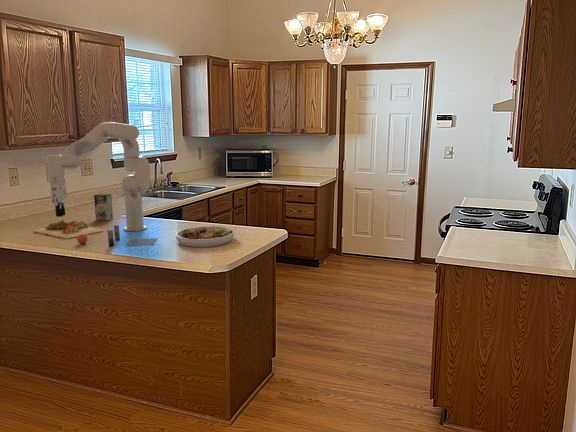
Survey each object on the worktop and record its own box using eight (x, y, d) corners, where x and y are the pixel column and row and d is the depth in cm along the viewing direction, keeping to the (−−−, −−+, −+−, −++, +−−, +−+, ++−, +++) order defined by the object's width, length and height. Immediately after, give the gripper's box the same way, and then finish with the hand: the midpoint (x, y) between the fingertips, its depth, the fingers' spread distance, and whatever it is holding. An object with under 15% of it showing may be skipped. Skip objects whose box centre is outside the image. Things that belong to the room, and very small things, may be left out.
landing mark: (131, 239, 264) (131, 238, 264) (157, 238, 266) (157, 238, 265) (125, 245, 251) (125, 245, 251) (153, 245, 252) (153, 244, 252)
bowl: (196, 233, 278) (195, 219, 277) (244, 237, 267) (243, 223, 266) (164, 246, 251) (163, 231, 249) (216, 251, 240) (215, 235, 238)
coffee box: (95, 220, 316) (93, 195, 312) (101, 218, 322) (99, 193, 319) (107, 220, 313) (105, 195, 310) (113, 218, 319) (111, 194, 316)
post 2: (115, 239, 264) (114, 224, 262) (120, 239, 264) (119, 224, 263) (114, 240, 261) (113, 225, 260) (119, 240, 262) (118, 225, 260)
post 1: (109, 245, 252) (108, 229, 251) (114, 245, 252) (113, 229, 251) (108, 246, 250) (106, 231, 248) (113, 246, 250) (112, 230, 248)
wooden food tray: (105, 232, 284) (104, 219, 283) (67, 241, 265) (66, 227, 264) (69, 225, 303) (68, 213, 302) (32, 233, 284) (30, 220, 283)
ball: (79, 242, 258) (78, 233, 257) (89, 242, 258) (88, 233, 257) (76, 245, 253) (75, 235, 252) (86, 244, 253) (85, 235, 252)
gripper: (59, 181, 241) (62, 218, 244) (70, 177, 256) (73, 212, 260) (43, 182, 240) (47, 219, 244) (55, 178, 256) (58, 213, 259)
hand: (60, 215), depth 252 cm, fingers open, 2 cm apart
